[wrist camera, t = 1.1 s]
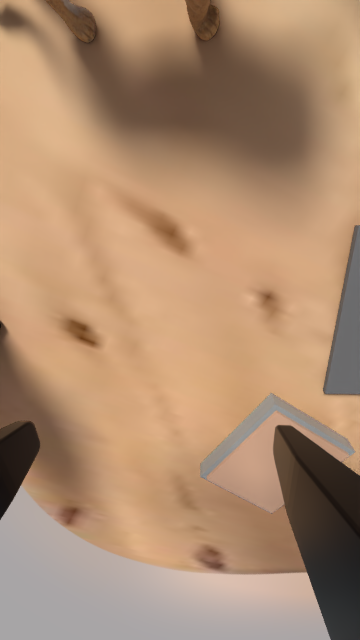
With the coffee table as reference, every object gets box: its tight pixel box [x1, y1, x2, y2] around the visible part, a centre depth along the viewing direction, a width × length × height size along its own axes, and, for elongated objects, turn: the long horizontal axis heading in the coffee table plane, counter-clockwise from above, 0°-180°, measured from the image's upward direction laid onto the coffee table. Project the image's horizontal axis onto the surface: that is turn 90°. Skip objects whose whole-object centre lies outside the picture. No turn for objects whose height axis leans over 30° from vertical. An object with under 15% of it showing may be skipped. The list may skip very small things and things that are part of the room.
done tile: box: [200, 393, 355, 514], centre depth 23 cm, size 10×8×2 cm
